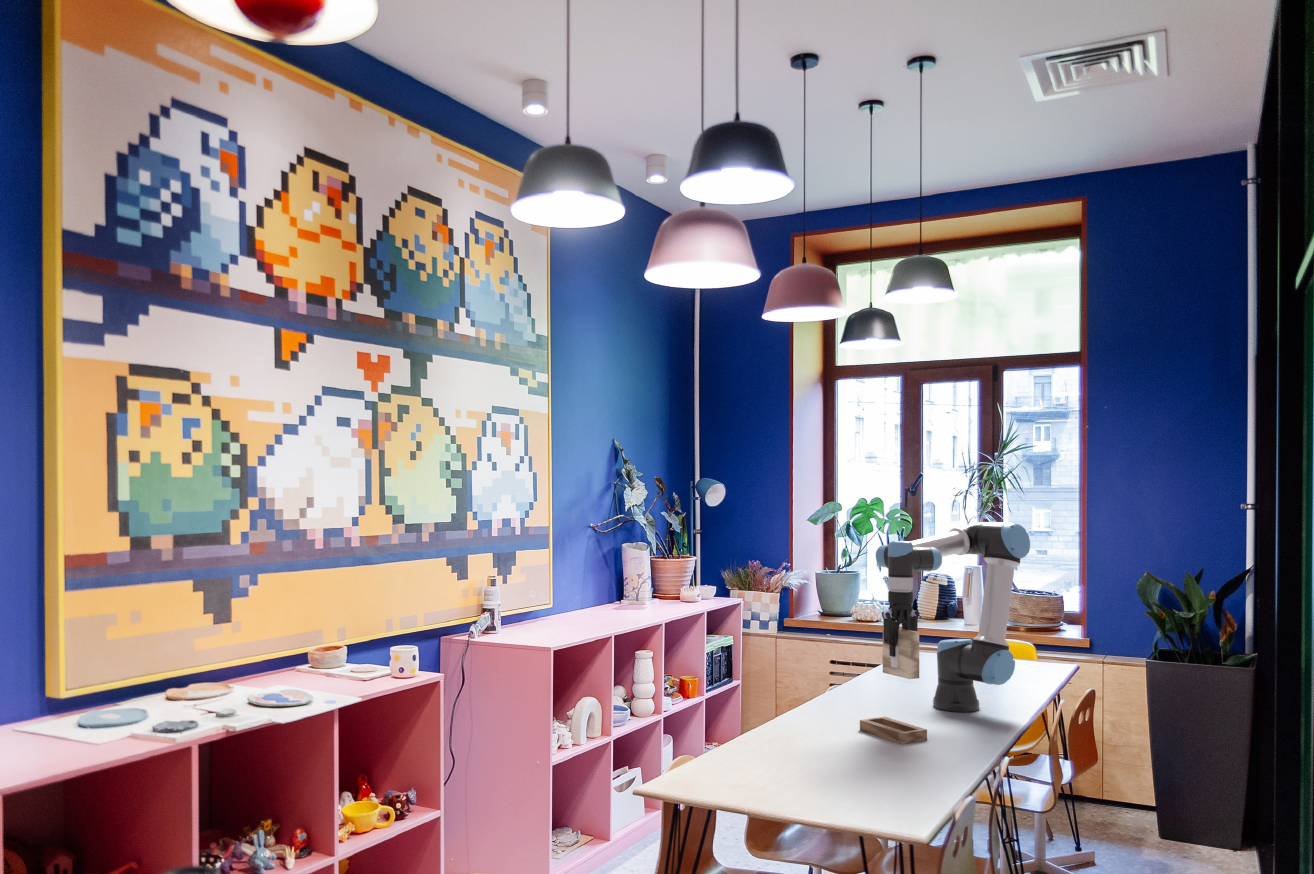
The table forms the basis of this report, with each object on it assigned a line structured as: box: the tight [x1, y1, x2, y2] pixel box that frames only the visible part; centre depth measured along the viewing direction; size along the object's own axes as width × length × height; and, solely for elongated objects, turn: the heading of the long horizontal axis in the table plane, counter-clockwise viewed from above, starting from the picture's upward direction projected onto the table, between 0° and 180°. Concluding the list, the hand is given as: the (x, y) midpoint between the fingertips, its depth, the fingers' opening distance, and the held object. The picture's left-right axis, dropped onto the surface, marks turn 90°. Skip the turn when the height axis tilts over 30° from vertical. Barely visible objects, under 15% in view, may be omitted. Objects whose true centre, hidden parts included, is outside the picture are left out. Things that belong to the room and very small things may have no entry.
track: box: [859, 716, 928, 745], centre depth 277 cm, size 10×18×3 cm, turn 28°
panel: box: [882, 626, 920, 680], centre depth 284 cm, size 4×12×14 cm, turn 27°
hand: (900, 666), depth 284 cm, fingers closed on panel, 4 cm apart
